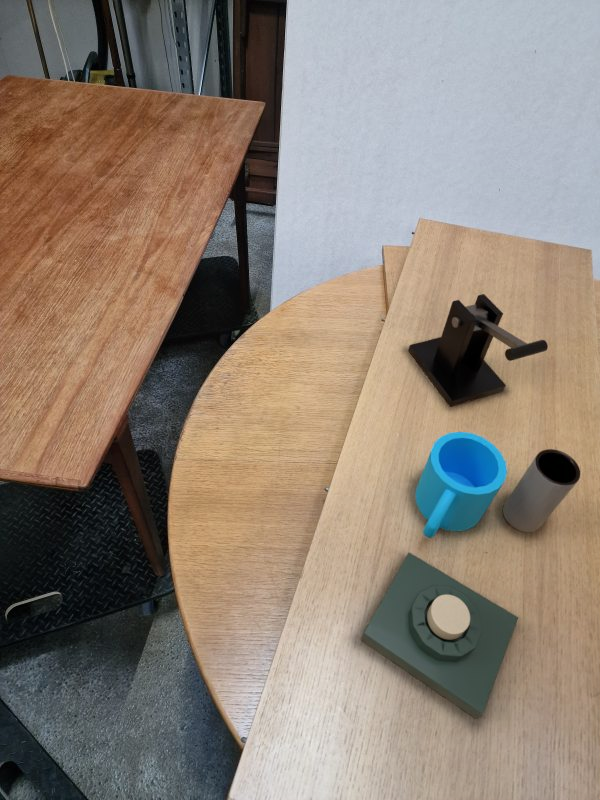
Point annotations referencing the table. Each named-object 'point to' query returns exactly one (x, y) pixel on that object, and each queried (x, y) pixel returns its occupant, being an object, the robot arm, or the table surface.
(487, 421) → the table surface
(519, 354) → the press lever
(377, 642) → the button housing
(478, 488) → the mug
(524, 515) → the grey hollow cylinder
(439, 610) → the stop button
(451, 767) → the table surface
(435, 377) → the lever bracket
